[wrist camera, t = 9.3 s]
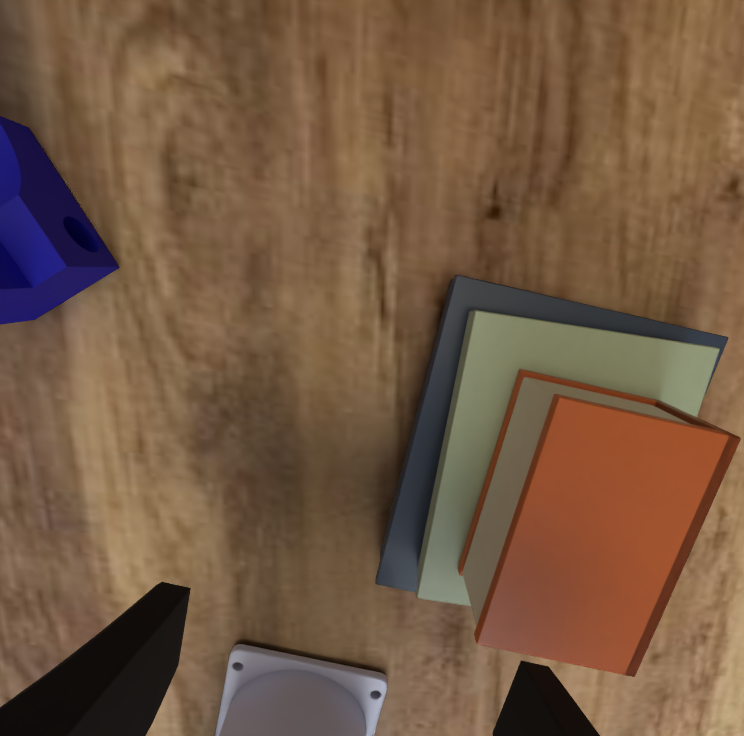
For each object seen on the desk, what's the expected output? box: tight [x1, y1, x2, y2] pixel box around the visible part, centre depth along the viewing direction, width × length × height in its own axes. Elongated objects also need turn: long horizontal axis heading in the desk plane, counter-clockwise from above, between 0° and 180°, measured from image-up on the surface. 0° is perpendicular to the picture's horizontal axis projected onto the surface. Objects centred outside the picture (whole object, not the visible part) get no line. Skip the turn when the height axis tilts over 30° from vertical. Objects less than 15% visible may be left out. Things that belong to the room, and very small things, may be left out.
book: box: [458, 369, 741, 677], centre depth 14 cm, size 8×5×3 cm, turn 167°
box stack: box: [376, 275, 728, 606], centre depth 17 cm, size 13×10×4 cm
